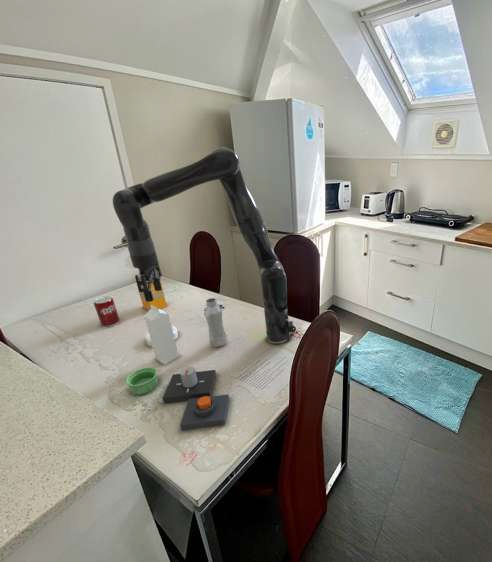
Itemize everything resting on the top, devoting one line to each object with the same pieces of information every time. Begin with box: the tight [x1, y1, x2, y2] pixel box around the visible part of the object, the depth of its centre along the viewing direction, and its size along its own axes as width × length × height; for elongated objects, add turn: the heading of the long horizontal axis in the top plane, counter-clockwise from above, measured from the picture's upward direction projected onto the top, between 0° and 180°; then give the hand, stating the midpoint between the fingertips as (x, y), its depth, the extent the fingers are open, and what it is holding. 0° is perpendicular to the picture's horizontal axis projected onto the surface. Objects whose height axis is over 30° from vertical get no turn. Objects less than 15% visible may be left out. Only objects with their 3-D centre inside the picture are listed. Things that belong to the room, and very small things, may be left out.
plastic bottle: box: [203, 297, 228, 347], centre depth 123 cm, size 6×7×20 cm
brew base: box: [162, 369, 217, 405], centre depth 103 cm, size 14×11×3 cm
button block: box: [179, 393, 230, 431], centre depth 93 cm, size 12×10×4 cm
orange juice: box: [135, 272, 168, 311], centre depth 153 cm, size 8×9×20 cm
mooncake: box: [144, 325, 179, 348], centre depth 130 cm, size 12×12×4 cm
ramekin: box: [125, 366, 159, 395], centre depth 104 cm, size 9×9×4 cm
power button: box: [197, 396, 211, 410], centre depth 92 cm, size 4×4×2 cm
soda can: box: [93, 296, 120, 328], centre depth 140 cm, size 7×7×12 cm
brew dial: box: [179, 365, 197, 388], centre depth 101 cm, size 4×4×5 cm
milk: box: [143, 305, 180, 365], centre depth 114 cm, size 6×6×22 cm
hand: (154, 295), depth 109 cm, fingers open, 8 cm apart
